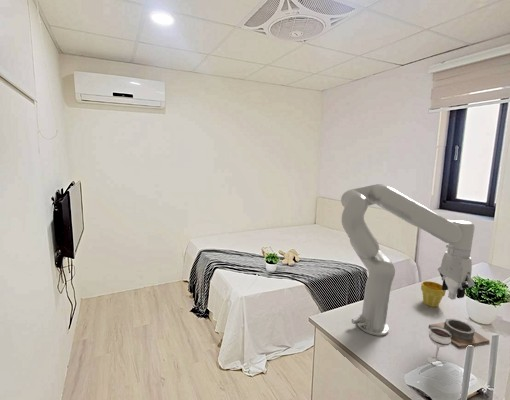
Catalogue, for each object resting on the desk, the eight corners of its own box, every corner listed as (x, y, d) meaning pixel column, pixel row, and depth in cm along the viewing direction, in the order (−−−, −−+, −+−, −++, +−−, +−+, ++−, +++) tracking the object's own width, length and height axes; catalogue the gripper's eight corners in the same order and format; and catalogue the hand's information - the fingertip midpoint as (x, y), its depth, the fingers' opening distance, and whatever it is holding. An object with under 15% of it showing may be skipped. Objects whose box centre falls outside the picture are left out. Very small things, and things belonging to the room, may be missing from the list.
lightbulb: (464, 303, 116) (468, 277, 114) (446, 301, 117) (450, 276, 115) (456, 296, 122) (460, 271, 120) (439, 294, 123) (443, 269, 121)
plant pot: (423, 307, 142) (426, 288, 141) (415, 297, 152) (418, 279, 151) (446, 310, 141) (449, 291, 139) (437, 300, 151) (440, 282, 149)
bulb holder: (458, 348, 113) (460, 338, 113) (428, 326, 126) (430, 318, 126) (489, 342, 118) (491, 333, 117) (457, 322, 131) (458, 314, 130)
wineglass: (439, 356, 108) (445, 326, 106) (450, 369, 101) (456, 338, 99) (421, 354, 109) (426, 325, 106) (430, 367, 102) (436, 337, 100)
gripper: (432, 245, 123) (427, 285, 126) (472, 260, 107) (465, 305, 110) (446, 244, 125) (441, 283, 128) (488, 258, 109) (480, 303, 112)
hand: (452, 293), depth 119 cm, fingers closed on lightbulb, 5 cm apart
